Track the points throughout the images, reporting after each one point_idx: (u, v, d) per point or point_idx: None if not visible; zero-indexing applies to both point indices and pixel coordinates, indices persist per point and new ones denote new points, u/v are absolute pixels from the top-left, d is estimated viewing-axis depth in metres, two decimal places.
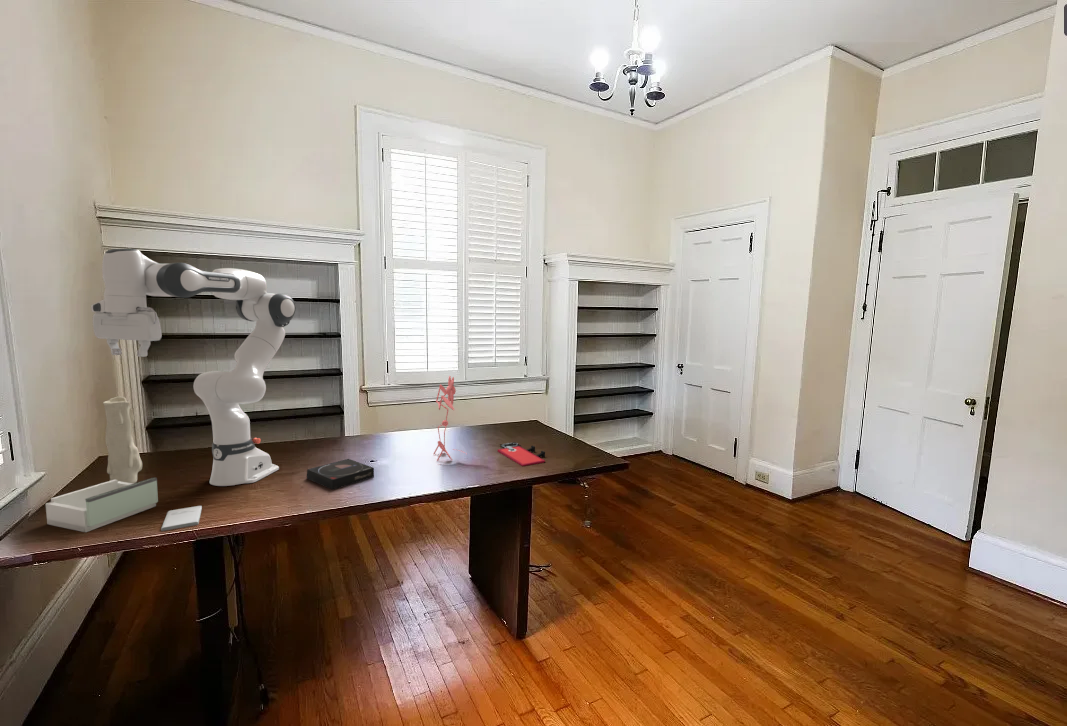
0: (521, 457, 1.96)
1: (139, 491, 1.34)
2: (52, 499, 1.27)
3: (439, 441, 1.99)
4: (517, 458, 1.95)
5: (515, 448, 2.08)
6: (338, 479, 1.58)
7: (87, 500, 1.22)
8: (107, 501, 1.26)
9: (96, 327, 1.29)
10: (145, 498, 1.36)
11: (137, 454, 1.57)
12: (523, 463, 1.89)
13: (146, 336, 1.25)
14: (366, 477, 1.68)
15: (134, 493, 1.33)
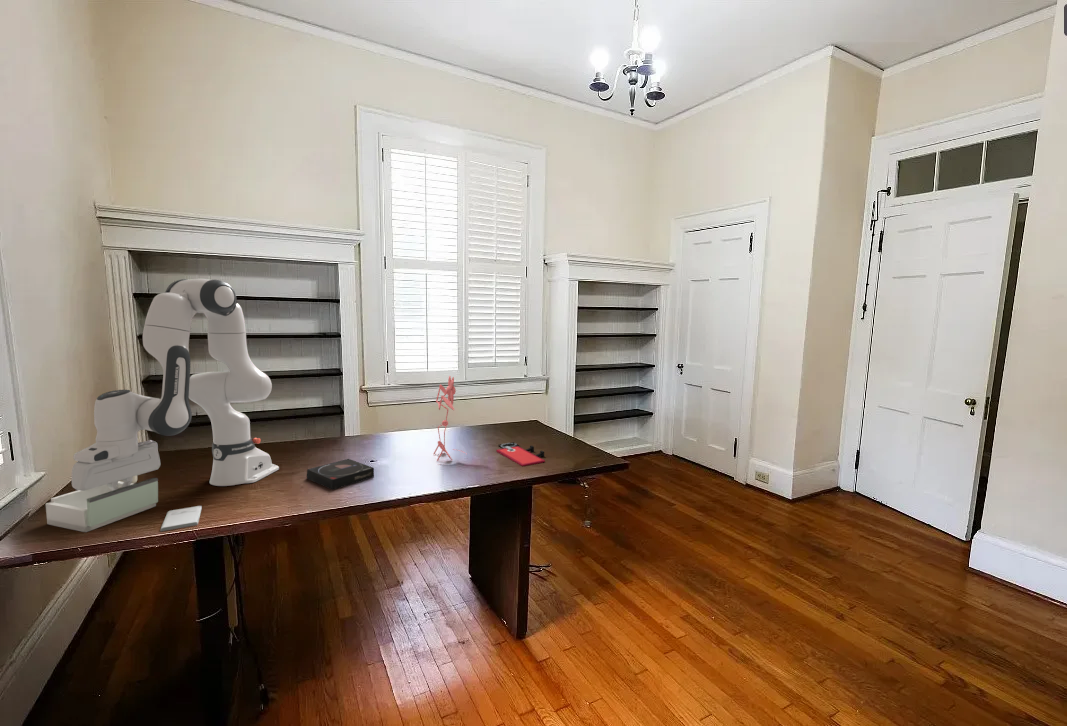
0: (520, 457, 1.96)
1: (140, 491, 1.34)
2: (52, 499, 1.27)
3: (439, 441, 1.99)
4: (517, 458, 1.95)
5: (514, 448, 2.08)
6: (338, 479, 1.58)
7: (88, 500, 1.22)
8: (108, 501, 1.26)
9: (87, 479, 1.21)
10: (145, 498, 1.36)
11: None
12: (523, 462, 1.89)
13: (158, 465, 1.39)
14: (366, 477, 1.68)
15: (135, 493, 1.33)
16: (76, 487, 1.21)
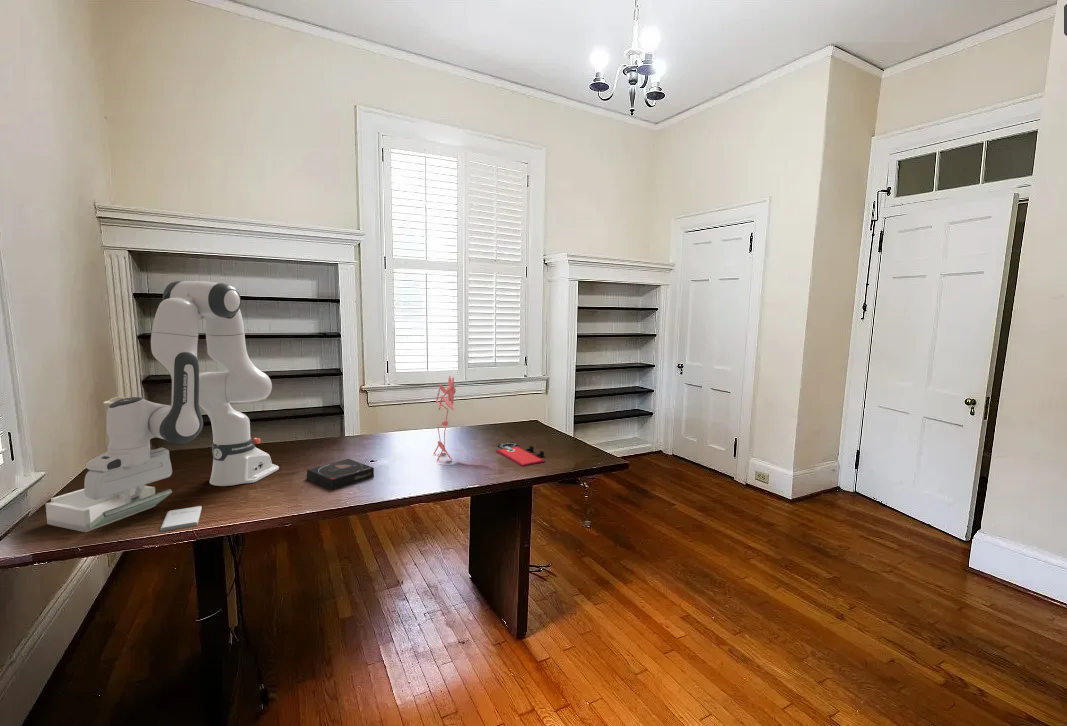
0: (520, 457, 1.96)
1: (150, 502, 1.33)
2: (52, 499, 1.27)
3: (439, 441, 1.99)
4: (516, 458, 1.95)
5: (513, 448, 2.08)
6: (338, 479, 1.58)
7: (104, 514, 1.21)
8: (119, 513, 1.25)
9: (100, 487, 1.21)
10: (150, 504, 1.35)
11: None
12: (523, 463, 1.89)
13: (170, 473, 1.38)
14: (366, 477, 1.68)
15: (145, 504, 1.32)
16: (89, 496, 1.20)
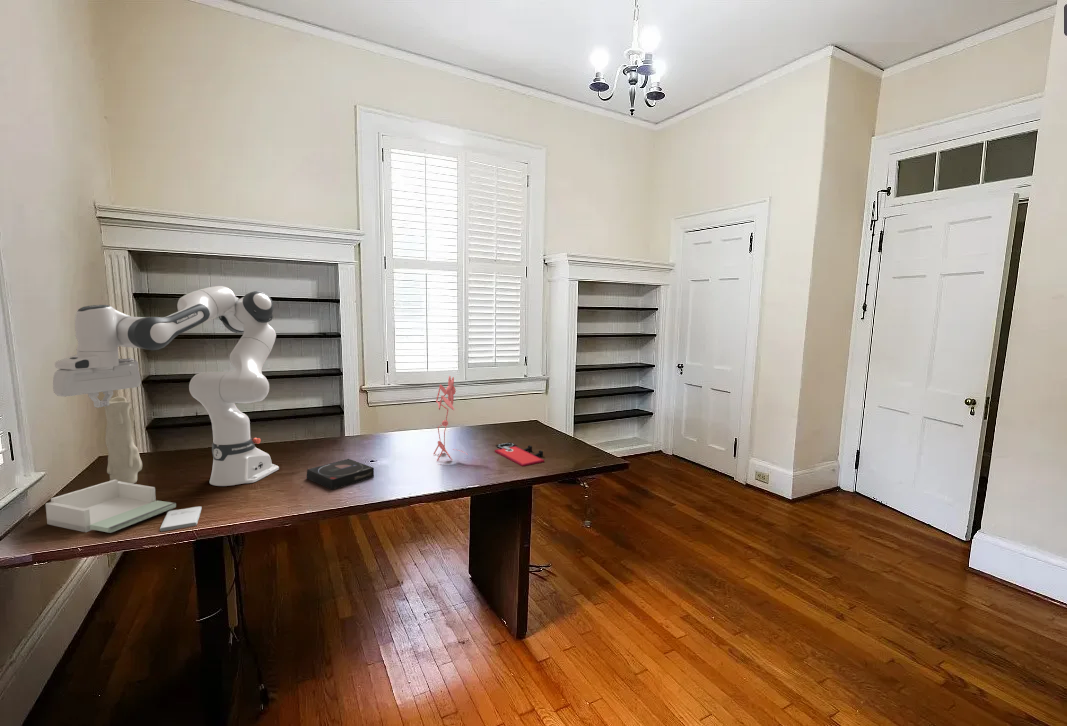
0: (520, 457, 1.96)
1: None
2: (52, 499, 1.27)
3: (439, 441, 1.99)
4: (516, 458, 1.94)
5: (512, 448, 2.08)
6: (338, 479, 1.58)
7: (109, 530, 1.21)
8: None
9: (68, 385, 1.26)
10: None
11: (137, 454, 1.57)
12: (523, 462, 1.89)
13: (139, 383, 1.43)
14: (366, 477, 1.68)
15: None
16: (57, 392, 1.25)
